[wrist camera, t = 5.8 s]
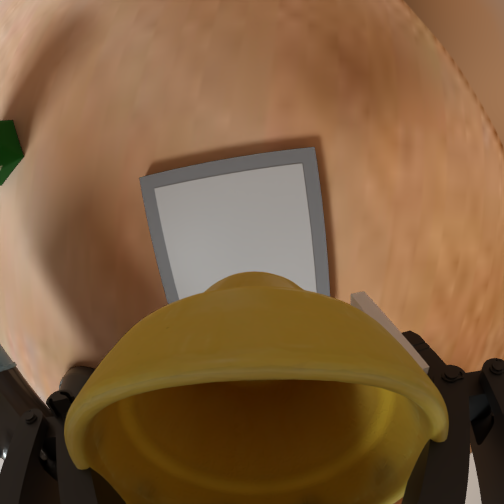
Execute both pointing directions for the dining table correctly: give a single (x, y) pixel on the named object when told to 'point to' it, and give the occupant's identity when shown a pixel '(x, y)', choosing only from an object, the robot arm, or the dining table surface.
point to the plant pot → (256, 402)
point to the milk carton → (8, 149)
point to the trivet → (238, 221)
